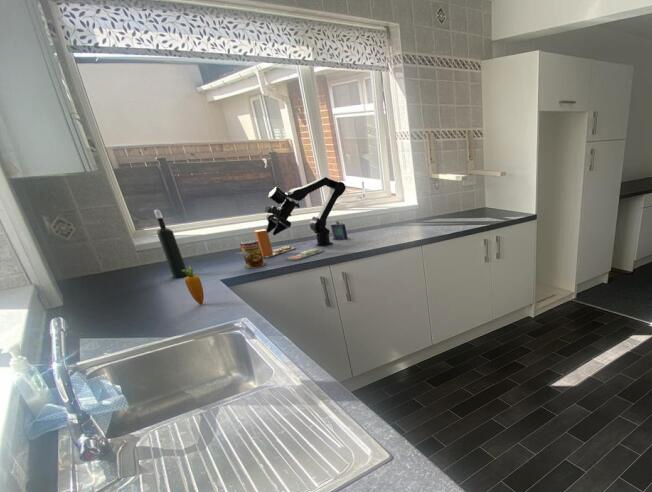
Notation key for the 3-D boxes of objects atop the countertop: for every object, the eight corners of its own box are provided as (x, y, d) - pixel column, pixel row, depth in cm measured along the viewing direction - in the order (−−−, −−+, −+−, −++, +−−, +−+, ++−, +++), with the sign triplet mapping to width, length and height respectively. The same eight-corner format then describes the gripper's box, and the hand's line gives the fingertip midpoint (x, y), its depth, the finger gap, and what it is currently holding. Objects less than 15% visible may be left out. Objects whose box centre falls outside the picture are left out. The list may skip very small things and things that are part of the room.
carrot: (197, 307, 158) (183, 269, 152) (191, 305, 161) (177, 267, 154) (211, 303, 162) (198, 265, 155) (204, 301, 164) (191, 264, 158)
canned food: (249, 268, 204) (241, 244, 199) (245, 265, 210) (237, 241, 205) (266, 265, 209) (259, 241, 204) (262, 262, 214) (255, 238, 209)
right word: (313, 250, 234) (312, 247, 233) (323, 251, 232) (322, 248, 231) (286, 259, 218) (286, 256, 218) (297, 260, 216) (296, 257, 215)
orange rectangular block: (270, 253, 229) (264, 229, 223) (273, 254, 226) (267, 230, 221) (260, 255, 225) (254, 230, 220) (263, 256, 223) (256, 231, 217)
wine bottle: (186, 276, 195) (162, 210, 182) (172, 278, 193) (146, 211, 180) (189, 273, 200) (166, 208, 187) (175, 275, 198) (150, 209, 185)
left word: (286, 248, 241) (285, 245, 240) (295, 248, 239) (295, 246, 238) (258, 256, 225) (257, 253, 224) (268, 257, 223) (267, 254, 222)
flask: (332, 239, 259) (328, 221, 254) (334, 238, 262) (331, 220, 257) (346, 239, 258) (343, 221, 253) (348, 238, 261) (345, 220, 256)
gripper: (265, 198, 226) (249, 222, 224) (279, 201, 214) (262, 226, 212) (284, 211, 235) (268, 234, 232) (298, 214, 223) (282, 239, 220)
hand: (270, 233), depth 224 cm, fingers open, 9 cm apart
